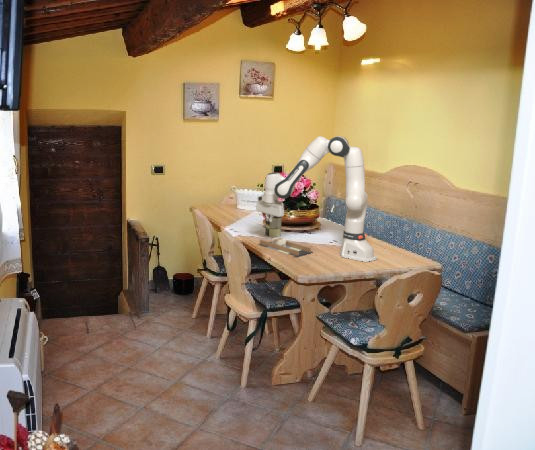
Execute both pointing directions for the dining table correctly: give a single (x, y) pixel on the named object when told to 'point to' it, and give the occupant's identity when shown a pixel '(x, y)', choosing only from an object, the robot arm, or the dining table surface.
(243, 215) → the dining table surface
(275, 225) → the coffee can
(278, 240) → the block
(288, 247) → the runway
